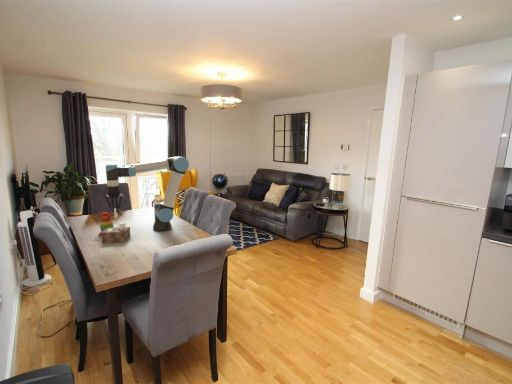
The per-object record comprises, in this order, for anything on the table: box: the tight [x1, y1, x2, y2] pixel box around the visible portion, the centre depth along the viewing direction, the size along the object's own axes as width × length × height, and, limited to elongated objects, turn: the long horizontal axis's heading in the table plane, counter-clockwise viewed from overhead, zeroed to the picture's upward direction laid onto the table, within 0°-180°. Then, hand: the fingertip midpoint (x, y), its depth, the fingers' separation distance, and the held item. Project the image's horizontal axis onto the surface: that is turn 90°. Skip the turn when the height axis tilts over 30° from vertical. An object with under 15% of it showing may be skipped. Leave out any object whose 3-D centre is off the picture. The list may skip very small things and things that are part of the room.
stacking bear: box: [98, 211, 114, 237], centre depth 210 cm, size 11×10×18 cm
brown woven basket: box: [100, 226, 131, 244], centre depth 198 cm, size 16×12×8 cm
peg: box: [118, 222, 126, 230], centre depth 198 cm, size 4×4×8 cm
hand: (116, 216), depth 196 cm, fingers closed
